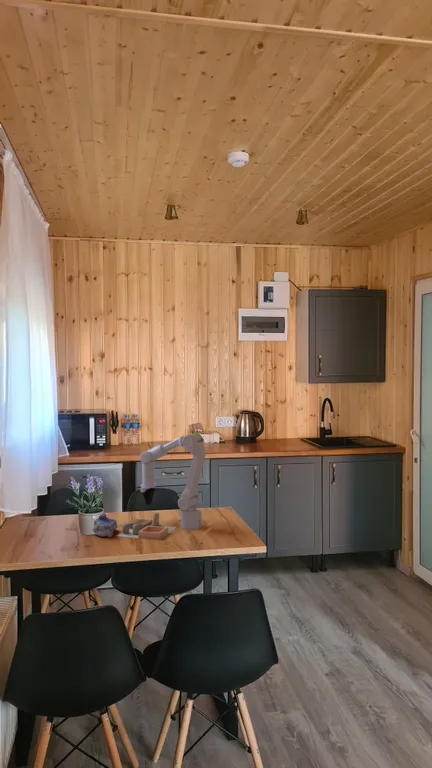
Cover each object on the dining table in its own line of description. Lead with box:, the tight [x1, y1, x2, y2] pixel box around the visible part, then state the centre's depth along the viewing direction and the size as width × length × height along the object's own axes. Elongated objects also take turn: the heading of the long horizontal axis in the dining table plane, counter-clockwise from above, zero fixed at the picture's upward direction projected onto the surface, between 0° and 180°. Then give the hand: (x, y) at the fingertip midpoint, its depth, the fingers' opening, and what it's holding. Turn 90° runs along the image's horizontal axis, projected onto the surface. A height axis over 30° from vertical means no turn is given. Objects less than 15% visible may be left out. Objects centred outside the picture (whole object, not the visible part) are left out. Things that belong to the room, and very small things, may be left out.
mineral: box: [92, 513, 118, 538], centre depth 249 cm, size 14×10×10 cm
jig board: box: [115, 522, 177, 541], centre depth 252 cm, size 21×20×5 cm
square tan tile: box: [128, 518, 153, 530], centre depth 259 cm, size 8×8×2 cm
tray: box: [137, 526, 168, 540], centre depth 246 cm, size 10×10×2 cm
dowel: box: [152, 512, 160, 526], centre depth 255 cm, size 3×3×7 cm
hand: (148, 504), depth 267 cm, fingers closed
